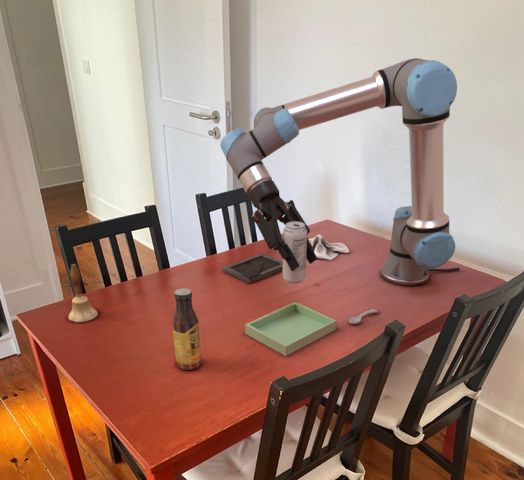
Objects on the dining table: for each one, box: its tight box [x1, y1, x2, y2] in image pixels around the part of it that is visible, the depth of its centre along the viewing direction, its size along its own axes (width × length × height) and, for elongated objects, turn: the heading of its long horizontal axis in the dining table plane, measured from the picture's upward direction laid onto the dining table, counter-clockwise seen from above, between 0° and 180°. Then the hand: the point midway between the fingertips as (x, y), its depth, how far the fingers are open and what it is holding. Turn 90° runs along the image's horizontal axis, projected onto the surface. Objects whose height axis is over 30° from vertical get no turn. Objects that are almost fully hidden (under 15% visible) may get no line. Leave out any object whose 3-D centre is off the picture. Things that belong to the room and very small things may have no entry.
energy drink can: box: [282, 221, 308, 285], centre depth 135 cm, size 6×6×15 cm
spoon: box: [348, 308, 379, 325], centre depth 151 cm, size 3×12×2 cm, turn 134°
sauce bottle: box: [172, 287, 202, 371], centre depth 127 cm, size 6×6×20 cm
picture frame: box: [222, 252, 283, 284], centre depth 181 cm, size 13×2×18 cm
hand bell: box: [67, 263, 99, 323], centre depth 150 cm, size 8×8×16 cm
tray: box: [244, 301, 337, 357], centre depth 145 cm, size 20×16×3 cm
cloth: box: [308, 233, 351, 261], centre depth 195 cm, size 22×19×6 cm
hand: (304, 264), depth 134 cm, fingers closed on energy drink can, 6 cm apart
